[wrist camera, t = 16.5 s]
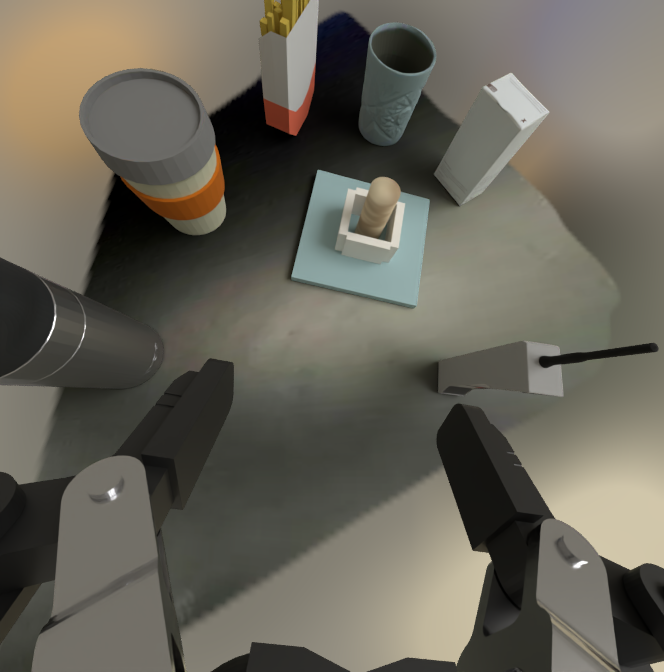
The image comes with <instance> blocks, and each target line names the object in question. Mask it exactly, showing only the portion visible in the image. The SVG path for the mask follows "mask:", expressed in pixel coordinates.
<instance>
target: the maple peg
mask: <svg viewBox="0 0 664 672" xmlns="http://www.w3.org/2000/svg"><path fill="white" fill-rule="evenodd" d="M400 194H401V191H400V187H399V186H398V184H397V183H396V182H395V181H394V180H392V179H390V178H387V177H379V178H376V179H375V180H373V182H372V183H371V185H370V188H369V191H368V194H367V197H366V200H365V203H364V206H363V209H362V211H361V214H360V217H359V220H358V223H357V226H356V229H355V232H354V233H355V234H359V235H363V236H367V237H371V238H375V239H379V237H380V235H381V233H382V231H383V229H384V227H385V225H386V223H387V221H388V219H389V217H390V215H391V213H392V211H393V209H394V207H395V205H396V203H397V201H398V200H399V198H400Z"/></svg>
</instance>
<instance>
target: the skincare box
mask: <svg viewBox="0 0 664 672" xmlns="http://www.w3.org/2000/svg"><path fill="white" fill-rule="evenodd" d="M548 114H549V111H548V110H547V109H546V108H545V107H544V106H543V105H542V104H541V103H540V102H539V101H538V100H537V99H536V98H535V97H534V96H533V95H532V94H531V93H530V92H529V91H528V90H527V89H526V88H525V87H524V86H523V85H522V84H521V83H520V82H519V81H518V79H517V78H516V77H515V76H514V75H513V74H512V73H510V74H508V75H506V76H504V77H502V78H500V79H498V80H496V81H494V82H492V83H490V84H488V85H486V86H484V87H482V89H481V91H480V92H479V94H478V96H477V98H476V100H475V102H474V103H473V105H472V107H471V109H470V110H469V112H468V114H467V116H466V117H465V119H464V121H463V123H462V125H461V126H460V128H459V130H458V132H457V134H456V135H455V137H454V139H453V141H452V143H451V144H450V146H449V148H448V150H447V151H446V153H445V155H444V157H443V159H442V160H441V162H440V164H439V166H438V168H437V169H436V171H435V173H434V175H435V177H436V178H437V179H438V180H439V181H440V182H441V184H442V185H443V186H444V187H445V188H446V190H447V191H448V192H449V193H450V195H451V196H452V197H453V198H454V199H455V201H456V202H457V203H458V204H459V205H460V206H461V205H462V204H464V203H466V202H467V201H469V200H471V199H473V198H474V197H476V196H478V195H480V194H481V193H482V192H483V191H484V190H485V189H486V188H487V187H488V185H489V184H490V183H491V182H492V181H493V179H494V178H495V177H496V176H497V175H498V173H499V172H500V171H501V170H502V169H503V167H504V166H505V165H506V164H507V163H508V161H509V160H510V159H511V158H512V157H513V156H514V154H515V153H516V152H517V151H518V149H519V148H520V147H521V146H522V145H523V144H524V142H525V141H526V140H527V139H528V138H529V136H530V135H531V134H532V133H533V132H534V130H535V129H536V128H537V127H538V126H539V125H540V123H541V122H542V121H543V120H544V118H545V117H546V116H547V115H548Z"/></svg>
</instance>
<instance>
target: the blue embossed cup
mask: <svg viewBox="0 0 664 672" xmlns="http://www.w3.org/2000/svg"><path fill="white" fill-rule="evenodd" d="M435 61H436V50H435V47H434V45H433V43H432V41H431V40H430V39H429V38H428V37H427V36H426V35H425V34H424V33H423V32H422V31H420V30H419V29H417V28H415V27H412V26H410V25H407V24H403V23H387V24H384V25H381V26H379V27H377V28H376V29H375V30H374V31H373V33H372V34H371V36H370V39H369V45H368V54H367V63H366V71H365V81H364V84H363V92H362V106H361V108H360V115H359V130H360V132H361V134H362V135H363V137H364V138H365V139H366V140H368V141H369V142H371V143H372V144H376V145H379V146H389V145H393V144H395V143H396V142H397V141H398V140H399V139H400V138H401V136H402V134H403V132H404V130H405V128H406V125H407V122H408V121H409V119H410V117H411V115H412V112H413V110H414V108H415V105H416V103H417V101H418V99H419V97H420V95H421V90H422V88H423V87H424V86H425V83H426V81H427V79H428V77H429V75H430V73H431V71H432V69H433V66H434V64H435Z"/></svg>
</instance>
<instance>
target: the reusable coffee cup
mask: <svg viewBox="0 0 664 672" xmlns="http://www.w3.org/2000/svg"><path fill="white" fill-rule="evenodd" d="M79 118H80V124H81V127H82V129H83V131H84V133H85V135H86V136H87V138H88V140H89V141H90V142H91V144H92V145H93V147H94V148H95V150H96V151H97V153H98V154H99V156H100V157H101V159H102V160H103V161H104V163H105V164H106V165H107V166H108V167H109V168H110V169H111V170H112V171H113V172H115V173H116V174H117V175H119V176H120V177H121V179H122V181H123V182H124V183H125V184H126V186H127V187H128V188H129V189H130V190H131V191H132V192H134V193H135V194H136V195H137V196H138V197H139V198H140V199H141V200H142V201H143V202H144V203H145V204H146V205H147V206H148V207H149V208H151V209H152V210H153V211H154V212H155V213H157V214H159V215H161V216H163V217H164V218H165V219H166V220H167V221H168V222H169V223H170V224H171V225H172V226H174V227H175V228H176V229H177V230H179V231H181V232H183V233H186V234H190V235H202V234H207V233H209V232H212V231H213V230H215V229H216V228H217V227H219V226H220V225H221V223H222V222H223V220H224V218H225V215H226V205H225V200H224V194H223V193H224V178H223V172H222V167H221V161H220V156H219V152H218V149H217V147H216V145H215V133H214V130H213V126H212V124H211V122H210V119H209V117H208V115H207V112H206V110H205V108H204V106H203V103H202V101H201V99H200V98H199V96H198V94H197V93H196V92H195V91H194V89H193V88H192V87H191V86H190V85H188V84H187V83H186V82H185V81H183V80H181V79H179V78H178V77H176V76H174V75H172V74H169V73H166V72H163V71H159V70H154V69H143V68H138V69H127V70H123V71H119V72H115V73H113V74H111V75H108V76H106V77H104V78H102V79H101V80H99V81H98V82H96V83H95V84H94V85H93V86H92V87H91V88H90V89H89V90H88V91H87V93H86V94H85V96H84V97H83V100H82V102H81V105H80V111H79Z"/></svg>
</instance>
